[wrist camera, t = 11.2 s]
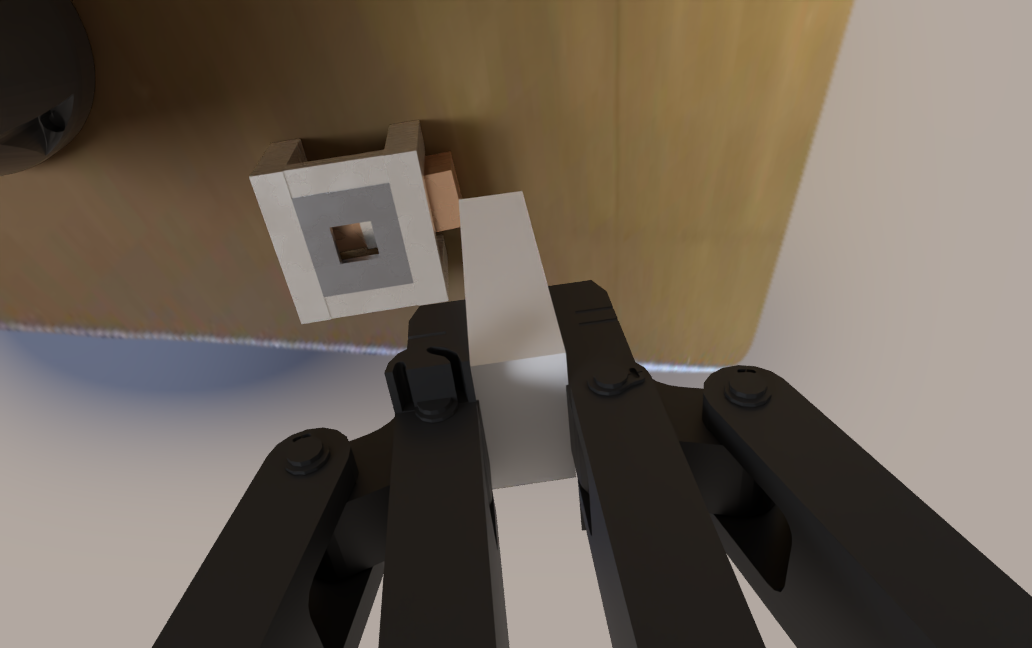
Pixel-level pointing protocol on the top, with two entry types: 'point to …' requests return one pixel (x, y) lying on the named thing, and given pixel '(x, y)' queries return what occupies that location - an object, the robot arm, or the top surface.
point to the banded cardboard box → (441, 200)
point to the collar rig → (348, 200)
